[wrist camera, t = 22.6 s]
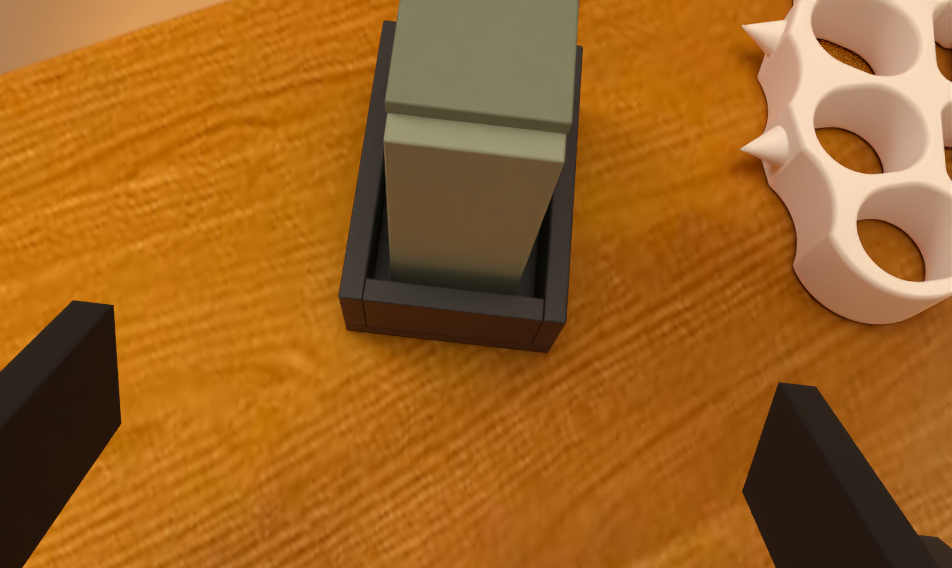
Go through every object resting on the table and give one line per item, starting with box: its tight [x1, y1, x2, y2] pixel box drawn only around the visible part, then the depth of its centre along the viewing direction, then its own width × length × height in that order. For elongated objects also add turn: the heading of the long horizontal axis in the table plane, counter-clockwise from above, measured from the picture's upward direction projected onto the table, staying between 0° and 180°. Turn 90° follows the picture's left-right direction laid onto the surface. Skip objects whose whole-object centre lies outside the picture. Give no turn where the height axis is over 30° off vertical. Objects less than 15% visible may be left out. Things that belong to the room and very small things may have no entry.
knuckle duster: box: [739, 0, 952, 324], centre depth 34 cm, size 3×18×15 cm
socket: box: [339, 20, 583, 353], centre depth 31 cm, size 8×11×4 cm
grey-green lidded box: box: [384, 0, 579, 295], centre depth 26 cm, size 5×8×12 cm, turn 175°
